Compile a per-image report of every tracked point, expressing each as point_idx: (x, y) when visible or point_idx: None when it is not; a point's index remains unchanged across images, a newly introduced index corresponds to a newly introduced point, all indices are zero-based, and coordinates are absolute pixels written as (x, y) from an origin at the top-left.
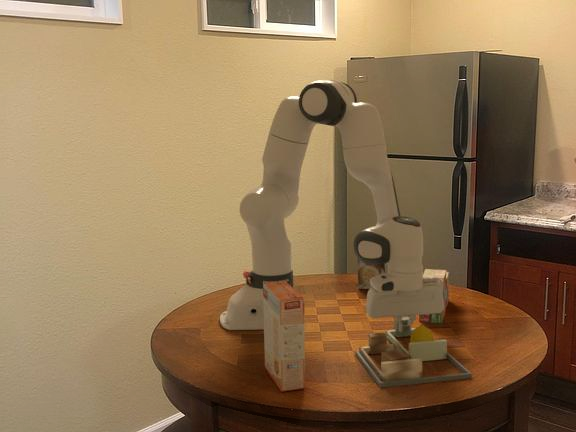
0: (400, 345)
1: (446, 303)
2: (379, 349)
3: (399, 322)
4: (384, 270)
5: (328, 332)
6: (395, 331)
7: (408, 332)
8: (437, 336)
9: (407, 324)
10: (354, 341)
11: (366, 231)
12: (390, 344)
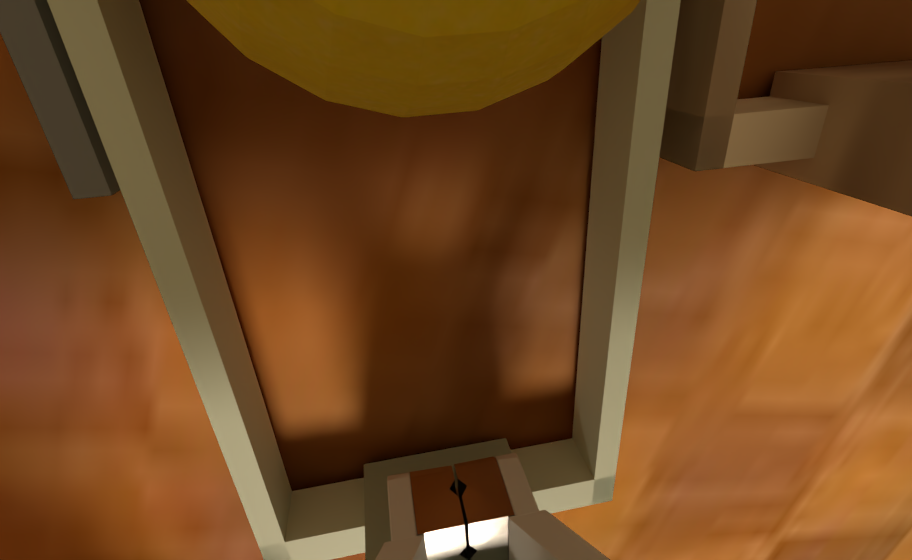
0: (658, 96)
1: None
2: (895, 70)
3: (579, 553)
4: None
5: (888, 509)
6: None
7: None
8: (77, 466)
9: (434, 556)
10: (844, 378)
11: None
12: (752, 154)
